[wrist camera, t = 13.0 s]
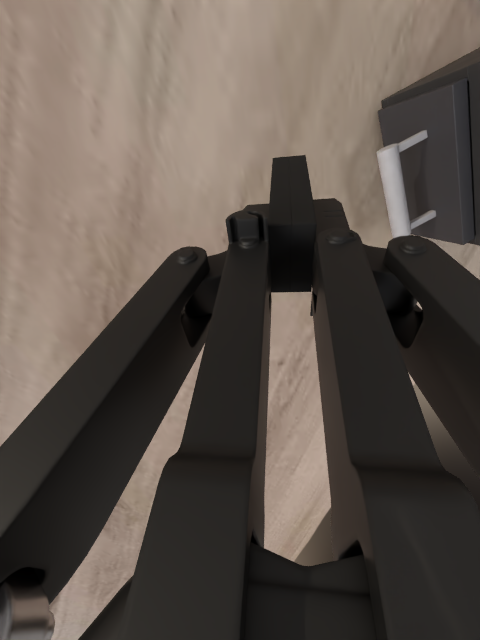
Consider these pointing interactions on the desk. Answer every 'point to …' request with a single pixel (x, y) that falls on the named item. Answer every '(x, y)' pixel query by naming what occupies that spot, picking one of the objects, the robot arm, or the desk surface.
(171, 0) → the desk surface
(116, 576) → the desk surface
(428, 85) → the small drawer cabinet
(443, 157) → the drawer
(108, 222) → the desk surface
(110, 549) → the desk surface
